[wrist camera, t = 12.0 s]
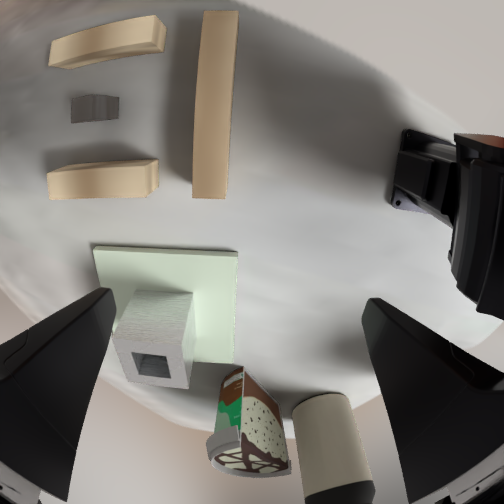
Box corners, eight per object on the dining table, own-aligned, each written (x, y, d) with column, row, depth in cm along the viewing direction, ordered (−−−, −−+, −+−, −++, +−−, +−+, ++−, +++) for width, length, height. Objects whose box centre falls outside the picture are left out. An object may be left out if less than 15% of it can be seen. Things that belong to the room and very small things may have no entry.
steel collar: (193, 292, 22) (181, 345, 17) (196, 337, 24) (188, 389, 19) (135, 289, 22) (111, 337, 16) (145, 332, 24) (128, 381, 19)
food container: (188, 374, 28) (177, 453, 19) (236, 358, 27) (236, 445, 18) (243, 420, 33) (244, 483, 24) (284, 408, 32) (293, 474, 23)
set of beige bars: (238, 26, 14) (238, 4, 10) (227, 187, 19) (224, 203, 16) (72, 47, 13) (44, 39, 9) (70, 188, 18) (42, 204, 15)
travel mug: (311, 388, 30) (339, 524, 14) (359, 393, 32) (395, 508, 16) (281, 418, 33) (295, 534, 17) (327, 422, 35) (349, 524, 19)
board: (237, 252, 21) (237, 256, 21) (233, 357, 27) (233, 363, 26) (96, 245, 21) (92, 250, 20) (122, 347, 26) (119, 352, 25)
